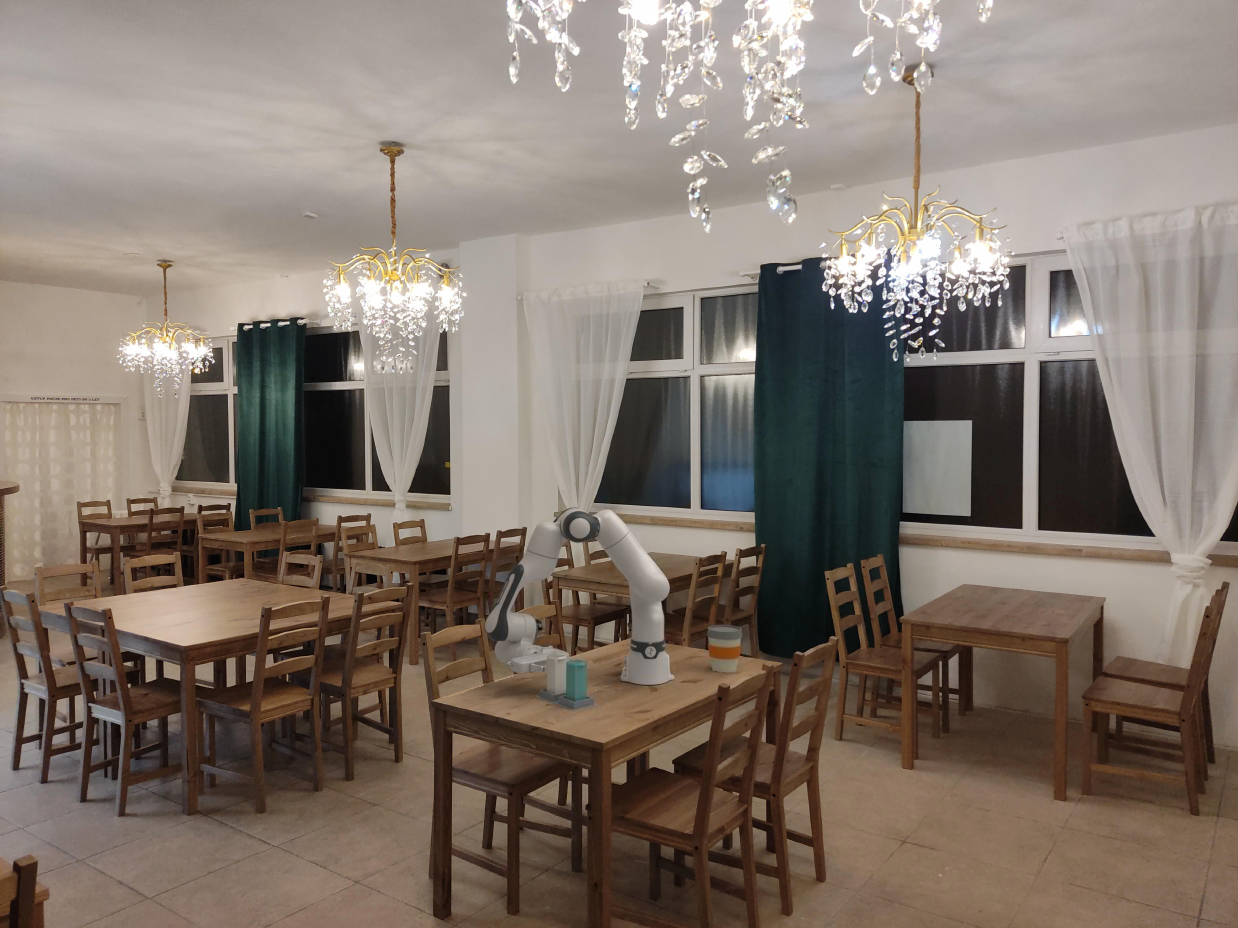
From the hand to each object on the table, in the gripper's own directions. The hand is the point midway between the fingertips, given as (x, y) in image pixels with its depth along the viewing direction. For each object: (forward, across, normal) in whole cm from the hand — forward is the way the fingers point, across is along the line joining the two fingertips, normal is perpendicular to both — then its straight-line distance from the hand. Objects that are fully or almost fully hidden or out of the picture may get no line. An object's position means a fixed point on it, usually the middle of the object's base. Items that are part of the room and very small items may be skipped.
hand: (555, 666), depth 278 cm
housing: (+6, 0, +11) cm, 12 cm away
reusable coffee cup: (+9, +70, +11) cm, 72 cm away
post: (+1, 0, +9) cm, 9 cm away
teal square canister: (+11, 0, +9) cm, 14 cm away
